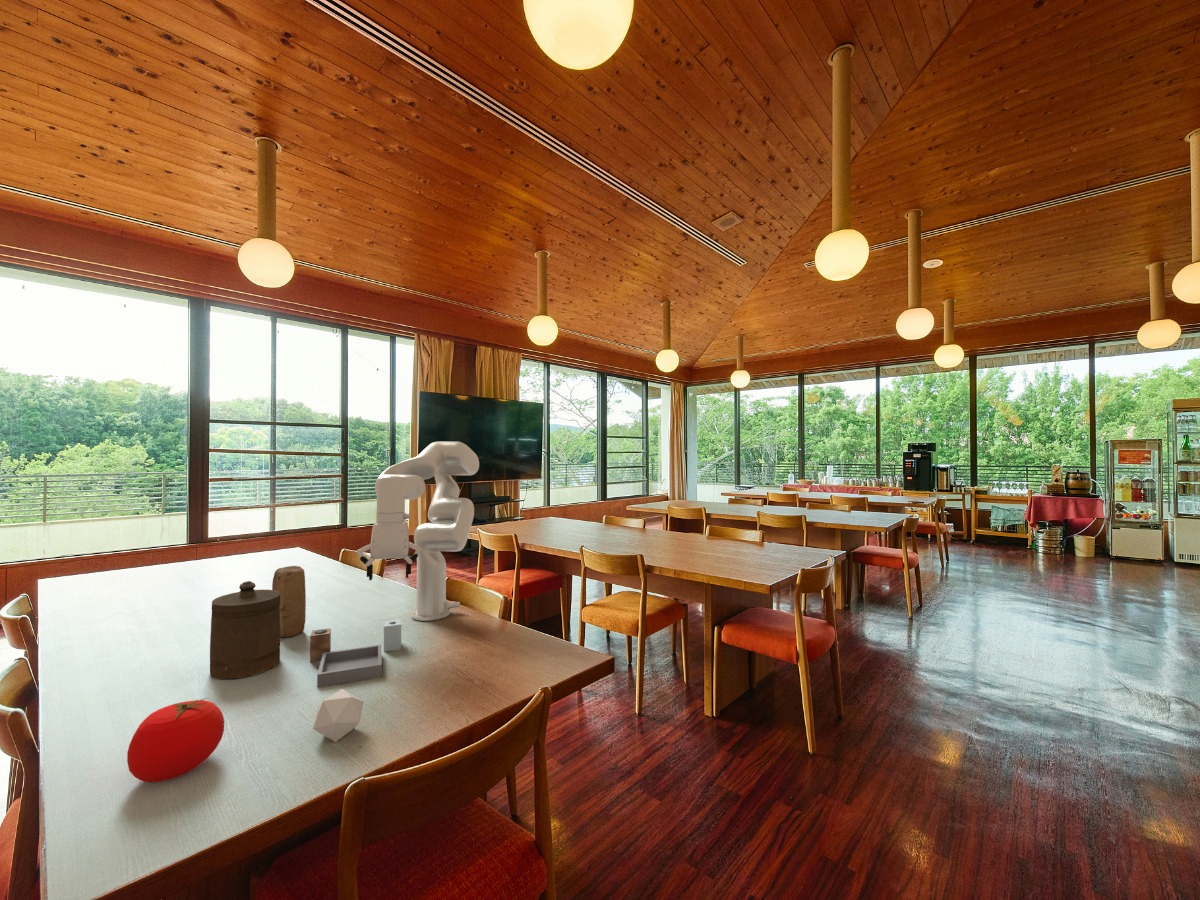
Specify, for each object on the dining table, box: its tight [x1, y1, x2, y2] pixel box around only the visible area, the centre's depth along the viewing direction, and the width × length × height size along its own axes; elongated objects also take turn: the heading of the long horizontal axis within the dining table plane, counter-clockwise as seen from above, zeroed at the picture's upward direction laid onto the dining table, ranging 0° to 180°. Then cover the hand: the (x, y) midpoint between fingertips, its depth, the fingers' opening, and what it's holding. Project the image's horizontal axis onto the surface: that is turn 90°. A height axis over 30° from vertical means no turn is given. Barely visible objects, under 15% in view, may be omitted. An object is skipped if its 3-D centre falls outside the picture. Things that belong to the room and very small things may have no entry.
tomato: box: [126, 696, 225, 783], centre depth 87 cm, size 12×14×12 cm
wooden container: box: [209, 580, 281, 680], centre depth 129 cm, size 15×15×22 cm
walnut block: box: [309, 628, 332, 663], centre depth 135 cm, size 4×4×7 cm
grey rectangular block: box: [383, 619, 402, 652], centre depth 142 cm, size 4×4×7 cm
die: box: [312, 688, 364, 743], centre depth 98 cm, size 8×9×10 cm
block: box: [271, 565, 307, 638], centre depth 153 cm, size 11×8×20 cm
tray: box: [316, 644, 383, 688], centre depth 127 cm, size 14×14×3 cm
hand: (389, 578), depth 143 cm, fingers open, 9 cm apart
